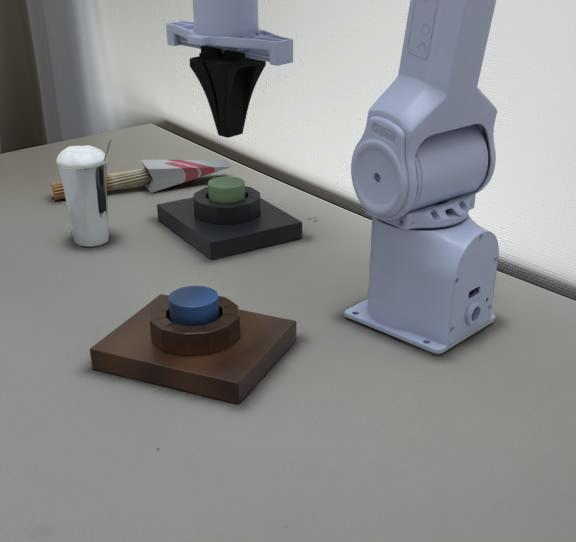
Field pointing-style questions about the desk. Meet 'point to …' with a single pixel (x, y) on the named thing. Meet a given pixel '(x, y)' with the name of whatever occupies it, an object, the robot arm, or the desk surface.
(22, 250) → the desk surface
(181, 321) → the blue button
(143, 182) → the paintbrush
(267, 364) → the wooden base push button
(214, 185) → the green button
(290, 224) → the black square button base
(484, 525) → the desk surface
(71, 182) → the milkshake
